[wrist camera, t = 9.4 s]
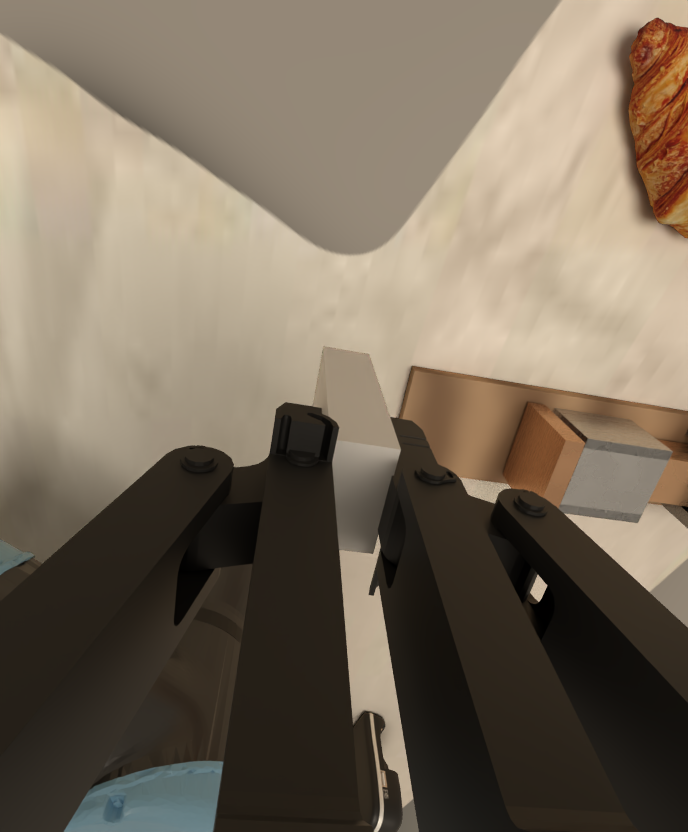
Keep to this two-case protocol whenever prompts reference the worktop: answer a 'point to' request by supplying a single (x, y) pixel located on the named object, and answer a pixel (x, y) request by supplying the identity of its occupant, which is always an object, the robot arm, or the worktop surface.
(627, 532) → the worktop surface
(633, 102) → the croissant
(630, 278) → the worktop surface
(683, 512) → the grey box
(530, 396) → the board
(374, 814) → the battery charger
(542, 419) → the wood grain post
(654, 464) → the grey concrete cube
